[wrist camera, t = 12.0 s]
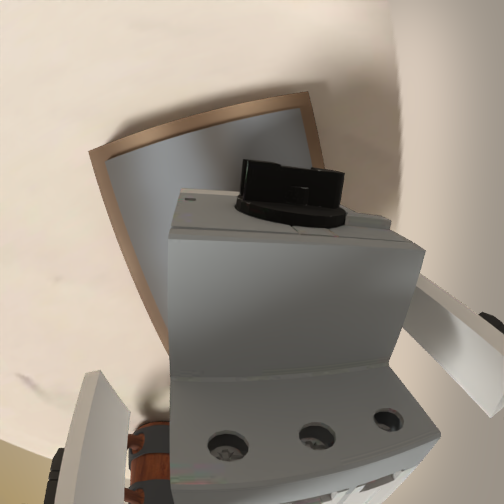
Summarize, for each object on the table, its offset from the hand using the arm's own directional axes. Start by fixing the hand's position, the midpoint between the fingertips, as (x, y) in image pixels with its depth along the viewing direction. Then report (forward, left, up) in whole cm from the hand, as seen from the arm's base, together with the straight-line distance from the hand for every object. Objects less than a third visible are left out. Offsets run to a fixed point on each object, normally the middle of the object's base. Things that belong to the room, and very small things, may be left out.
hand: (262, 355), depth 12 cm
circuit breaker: (0, 0, -9) cm, 9 cm away
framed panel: (0, 0, -12) cm, 12 cm away
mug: (-14, -18, -12) cm, 26 cm away
